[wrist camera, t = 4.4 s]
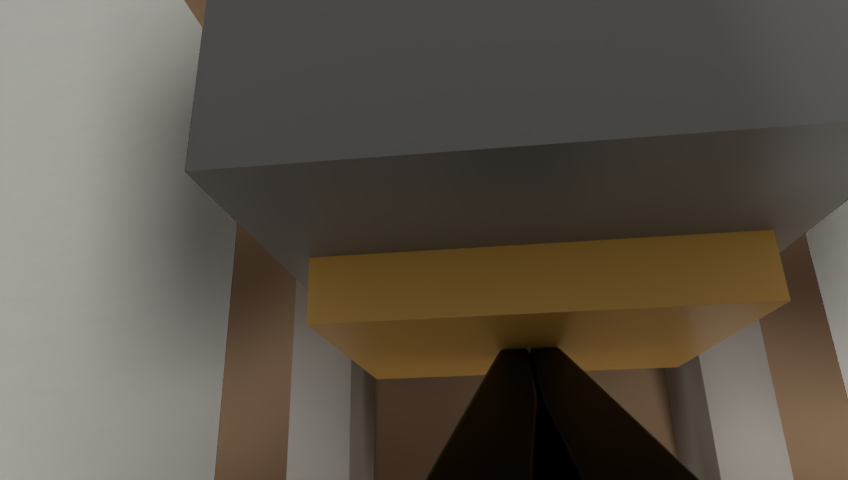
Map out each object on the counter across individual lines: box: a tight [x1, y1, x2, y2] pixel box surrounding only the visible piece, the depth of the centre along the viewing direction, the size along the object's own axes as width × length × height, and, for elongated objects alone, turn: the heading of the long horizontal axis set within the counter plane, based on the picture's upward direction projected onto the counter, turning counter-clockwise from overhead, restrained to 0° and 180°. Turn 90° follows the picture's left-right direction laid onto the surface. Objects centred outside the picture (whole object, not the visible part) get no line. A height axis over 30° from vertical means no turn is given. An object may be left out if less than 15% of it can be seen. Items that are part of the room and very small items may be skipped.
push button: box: [185, 0, 848, 379], centre depth 10 cm, size 5×6×10 cm
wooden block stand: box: [185, 0, 848, 480], centre depth 12 cm, size 19×14×10 cm
